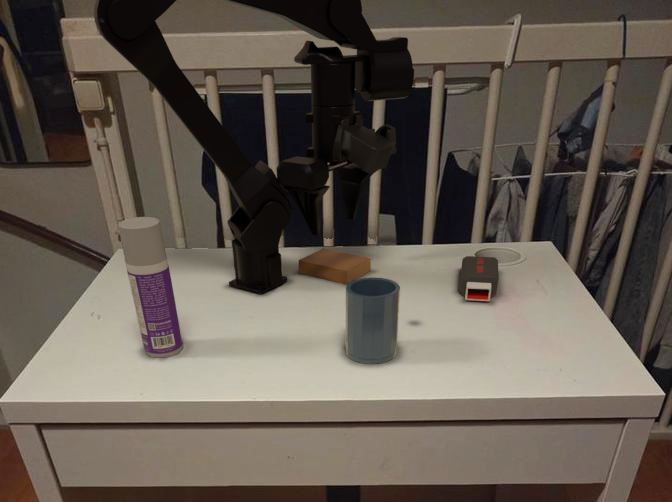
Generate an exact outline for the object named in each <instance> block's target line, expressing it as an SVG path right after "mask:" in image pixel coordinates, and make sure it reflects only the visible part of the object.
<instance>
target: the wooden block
mask: <svg viewBox="0 0 672 502" xmlns="http://www.w3.org/2000/svg"><path fill="white" fill-rule="evenodd" d="M371 261H372V258H371V257H367V256H363V255H358V254H352V253H348V252H344V251H337V250H332V249H329V248H325V247H324V248H321V249H318V250H317V251H314V252H312V253H310V254H308V255H306V256H304V257H302V258H300V259H298V273H299V274H301V275H305V276H311V277H315V278H319V279H324V280H327V281H332V282H336V283H339V284H340V283H341V284H343V285H344V284H345V285H347V284H348V283H350V282H352V281H354V280H357V279H360V278H361V277H362V276H364V275H366V274H368V273H370V272H371V268H372V267H371V265H372V263H371Z"/></svg>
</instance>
